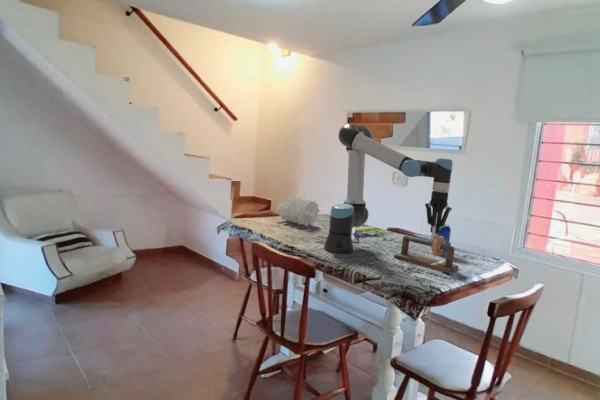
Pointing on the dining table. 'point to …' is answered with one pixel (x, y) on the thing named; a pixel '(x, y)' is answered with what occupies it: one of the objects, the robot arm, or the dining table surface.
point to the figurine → (365, 229)
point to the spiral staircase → (299, 211)
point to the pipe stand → (427, 261)
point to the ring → (436, 243)
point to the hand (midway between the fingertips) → (433, 239)
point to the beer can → (445, 235)
